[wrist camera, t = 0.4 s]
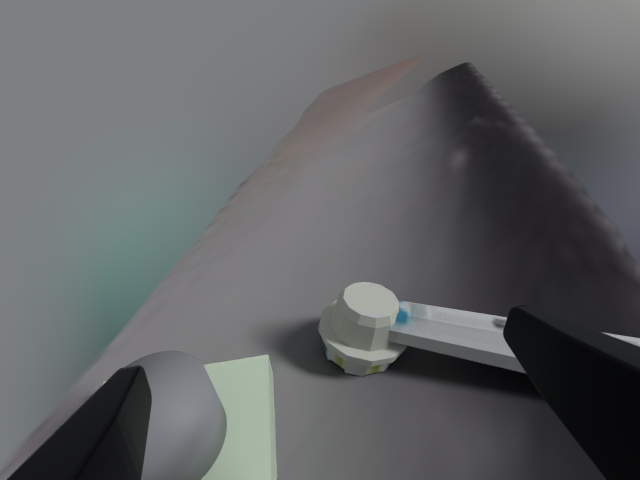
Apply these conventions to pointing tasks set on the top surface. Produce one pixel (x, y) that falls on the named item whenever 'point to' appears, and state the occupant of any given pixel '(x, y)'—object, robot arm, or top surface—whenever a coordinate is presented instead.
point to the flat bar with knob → (409, 331)
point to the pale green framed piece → (209, 418)
